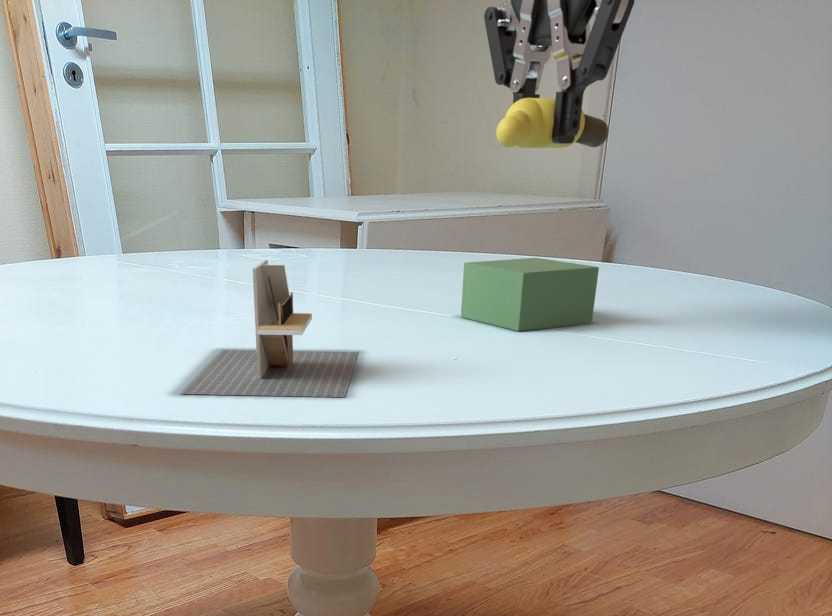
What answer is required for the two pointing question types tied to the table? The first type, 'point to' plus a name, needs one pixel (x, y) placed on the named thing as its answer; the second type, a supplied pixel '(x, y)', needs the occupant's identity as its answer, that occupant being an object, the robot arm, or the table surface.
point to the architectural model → (275, 352)
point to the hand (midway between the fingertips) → (542, 142)
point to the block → (529, 293)
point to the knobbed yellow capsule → (544, 126)
